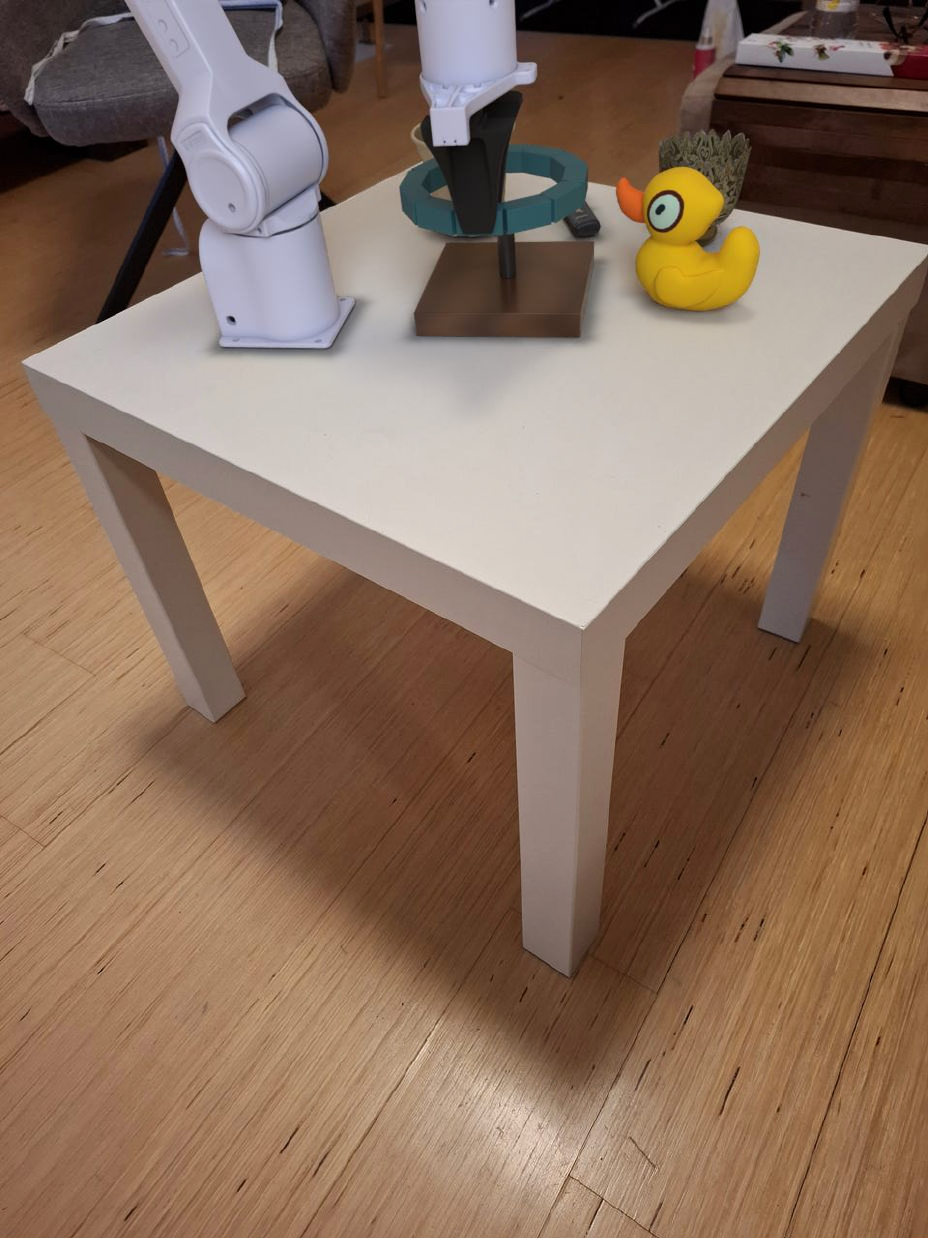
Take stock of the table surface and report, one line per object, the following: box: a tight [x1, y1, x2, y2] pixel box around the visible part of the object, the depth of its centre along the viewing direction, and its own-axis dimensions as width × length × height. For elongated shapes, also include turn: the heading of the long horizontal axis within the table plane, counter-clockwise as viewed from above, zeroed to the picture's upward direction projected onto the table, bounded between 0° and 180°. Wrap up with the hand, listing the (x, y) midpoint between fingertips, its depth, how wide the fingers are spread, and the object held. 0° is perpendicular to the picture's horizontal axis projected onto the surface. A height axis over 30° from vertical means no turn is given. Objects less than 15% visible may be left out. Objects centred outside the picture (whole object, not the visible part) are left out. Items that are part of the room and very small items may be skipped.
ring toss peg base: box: [413, 231, 595, 338], centre depth 71 cm, size 13×13×6 cm
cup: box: [658, 128, 752, 247], centre depth 75 cm, size 8×7×8 cm
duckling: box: [615, 167, 761, 312], centre depth 66 cm, size 11×5×10 cm, turn 58°
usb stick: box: [564, 200, 602, 238], centre depth 82 cm, size 10×3×2 cm, turn 8°
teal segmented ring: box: [398, 143, 589, 237], centre depth 63 cm, size 13×13×2 cm
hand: (480, 225), depth 59 cm, fingers closed on teal segmented ring, 1 cm apart
